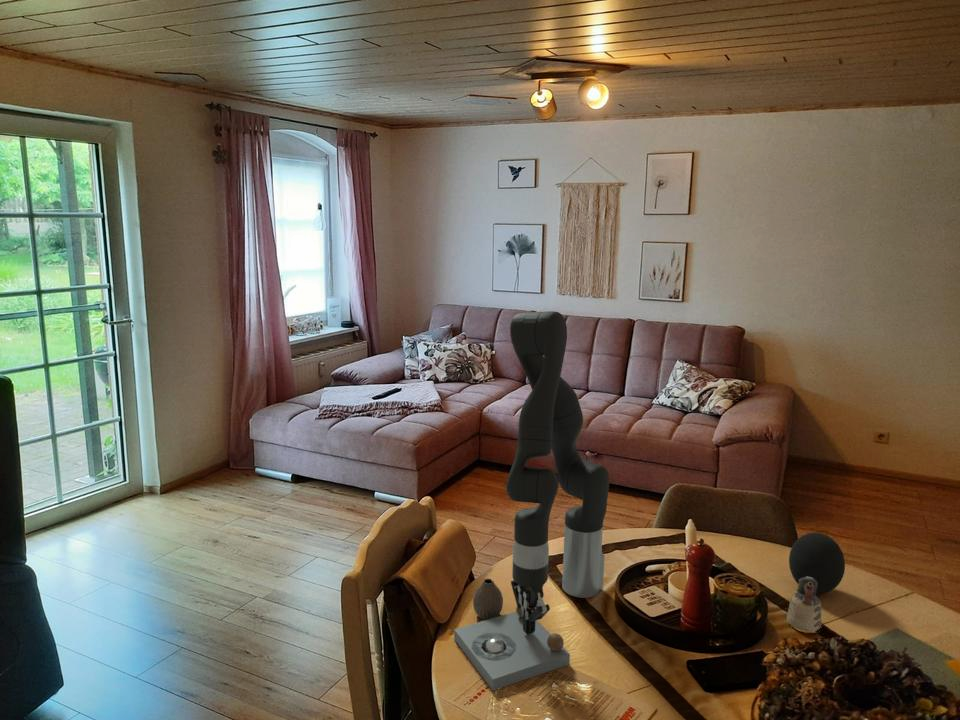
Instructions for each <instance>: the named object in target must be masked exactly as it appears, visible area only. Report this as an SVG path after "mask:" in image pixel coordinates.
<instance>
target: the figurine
mask: <svg viewBox="0 0 960 720" xmlns="http://www.w3.org/2000/svg"><path fill="white" fill-rule="evenodd" d="M817 586H818V583H817V581H816V580H815V579H814V578H812V577H804V578H801V579H799V584H798V583H797V589H796V592H795V593H793V594H791V597H790V601H789V604H788V609H787V613H786V622H787V621H788V623H789V624H791V625H792V626H793V627H795V628H797V629H801V630H805V631H817V630H819V629H820V628H821V629H822V608H823V606H822V603H821V600H820V598H819V597H817V594H816V590H817ZM788 623H787V624H788ZM789 624H788V625H789Z"/></svg>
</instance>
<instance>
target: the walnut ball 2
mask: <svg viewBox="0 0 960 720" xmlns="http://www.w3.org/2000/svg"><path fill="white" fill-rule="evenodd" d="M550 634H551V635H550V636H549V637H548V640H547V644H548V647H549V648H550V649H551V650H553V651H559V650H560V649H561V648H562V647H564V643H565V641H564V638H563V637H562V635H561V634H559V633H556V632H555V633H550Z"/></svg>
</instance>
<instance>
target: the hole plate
mask: <svg viewBox="0 0 960 720" xmlns="http://www.w3.org/2000/svg"><path fill="white" fill-rule="evenodd" d="M551 634H552V633H550V632H549V631H548V630H547V628H545V627H544V625H542V624H541V623H540V622H539V621H538V620H536V621H535V632H534V633H531V634H526V633H525V632H524V631H523V618H521V617H520V616H518V614H517V612H516V611H512V612H509V613H506V614H503V615H498V616H497V617H495V618H492V619H488V620H482V621H478V622H474V623H471V624H467V625H464V626H461V627H458V628H454V629H453V640H454V641H455V643H456V644H457V645H458V646H459V648H460V649H461V651H462V652H463V653H464V654H465V656H466V658H467V659H468V660H469V662H471V664H472V665H473V667H474V669H476V670H477V672H478V673H479V675H480V676H481V677H482V679H483V680H484V681H485V682H486V685H488V687H489V688H490V689H491V690H492V691H495V690H494V689H496V690H498V689H497V688H499V689H501V687H502V688H504V687H508V686H511V685H513V683H514V684H516V683H519V682H523V681H525V680H527V679H531V678H533V677H537V676H539V675H542V674H545V673H548V672H551V671H554V670H557V669H559V668H564V667H566V666H568V665H570V660H571V659H570V658H571V654H570V652H569V651H568V650H567V649H566V648H565V647H564V646H563V647H562V648H561V649H560V650H559V651H553V650H551V649H550V648H549V647H548V644H547V640H548V637H549V636H550V635H551ZM491 638H498V639H499V640H501V641H502V643H503V645H504V652H503V653H500V654H489V653H486V652H485V645H486V643H487V641H488V640H489V639H491Z"/></svg>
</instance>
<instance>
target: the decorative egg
mask: <svg viewBox="0 0 960 720" xmlns="http://www.w3.org/2000/svg"><path fill="white" fill-rule="evenodd" d="M788 565H789V566H788V567H789V571H790V574H791V575H792V576H791V577H792V578H793V579H794V581H795V582H796V584H797V585H798V584H799V579H801V578H804V577H812V578H814V579H815V580H816V581H817V583H818V586H817V590H816V595H824V594H827V593H830V592H831V591H833V590H834V589H836V588H837V587H838V586H839V585H840V583H841V582H842V580H843V578H844V575H845V570H846V562H845V556H844V553H843V551H842V549H841V547H840V545H839V544H838V543H837V542H836V540H834V539H833V538H832V537H831V536H829V535H828V534H825V533H821V532H808V533H805V534H803V535H801V536H800V537H799V538H797V540H796V541H794V543H793V545H792V547H791V549H790V551H789V557H788Z"/></svg>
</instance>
